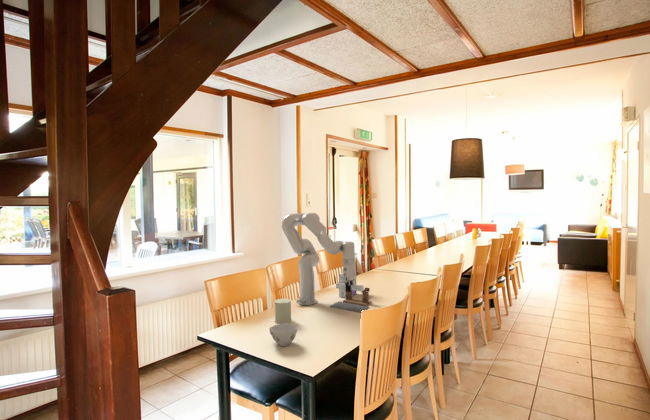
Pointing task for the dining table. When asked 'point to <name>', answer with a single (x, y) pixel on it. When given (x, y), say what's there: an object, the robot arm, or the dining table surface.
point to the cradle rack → (362, 302)
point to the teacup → (283, 333)
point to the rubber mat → (349, 306)
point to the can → (282, 311)
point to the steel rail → (353, 287)
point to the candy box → (342, 291)
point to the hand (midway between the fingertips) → (349, 290)
